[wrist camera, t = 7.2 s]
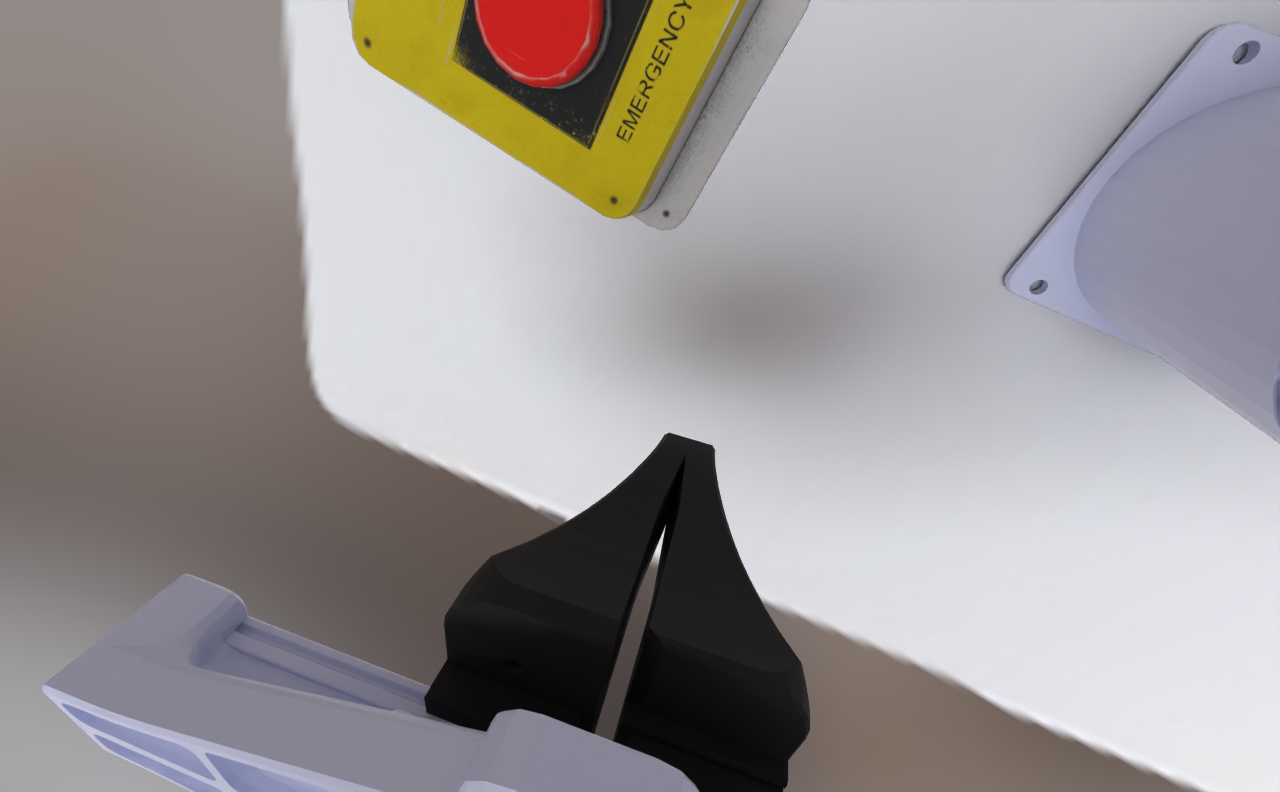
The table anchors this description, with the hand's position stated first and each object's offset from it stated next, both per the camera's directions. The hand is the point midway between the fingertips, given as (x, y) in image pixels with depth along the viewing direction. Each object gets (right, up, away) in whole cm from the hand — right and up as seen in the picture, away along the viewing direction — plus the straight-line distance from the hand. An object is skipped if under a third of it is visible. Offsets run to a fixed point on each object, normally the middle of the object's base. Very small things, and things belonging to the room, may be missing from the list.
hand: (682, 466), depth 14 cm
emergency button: (-4, +16, +4) cm, 17 cm away
